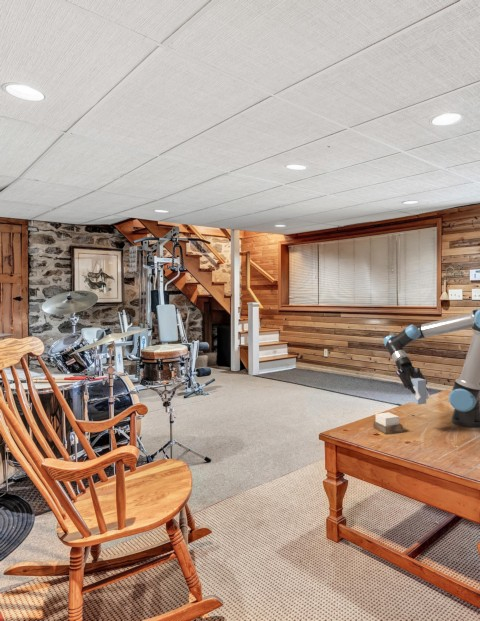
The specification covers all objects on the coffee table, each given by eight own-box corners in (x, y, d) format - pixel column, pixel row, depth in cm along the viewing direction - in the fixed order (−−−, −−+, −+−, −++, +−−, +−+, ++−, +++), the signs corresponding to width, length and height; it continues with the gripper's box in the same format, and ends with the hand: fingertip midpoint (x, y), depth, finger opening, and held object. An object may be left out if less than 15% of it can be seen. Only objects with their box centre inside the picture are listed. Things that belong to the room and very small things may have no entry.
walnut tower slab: (390, 426, 217) (390, 419, 217) (402, 432, 208) (402, 424, 207) (373, 428, 214) (373, 421, 214) (385, 435, 205) (385, 427, 205)
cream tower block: (388, 419, 216) (388, 412, 216) (399, 424, 208) (398, 416, 208) (375, 421, 213) (375, 414, 213) (385, 426, 206) (385, 418, 206)
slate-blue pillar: (419, 401, 213) (419, 377, 212) (426, 403, 208) (426, 379, 208) (411, 402, 211) (411, 378, 211) (418, 404, 207) (417, 380, 206)
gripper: (412, 363, 226) (434, 400, 211) (384, 365, 221) (405, 403, 206) (419, 355, 221) (442, 392, 206) (390, 357, 216) (412, 395, 201)
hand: (423, 398), depth 206 cm, fingers closed on slate-blue pillar, 5 cm apart
